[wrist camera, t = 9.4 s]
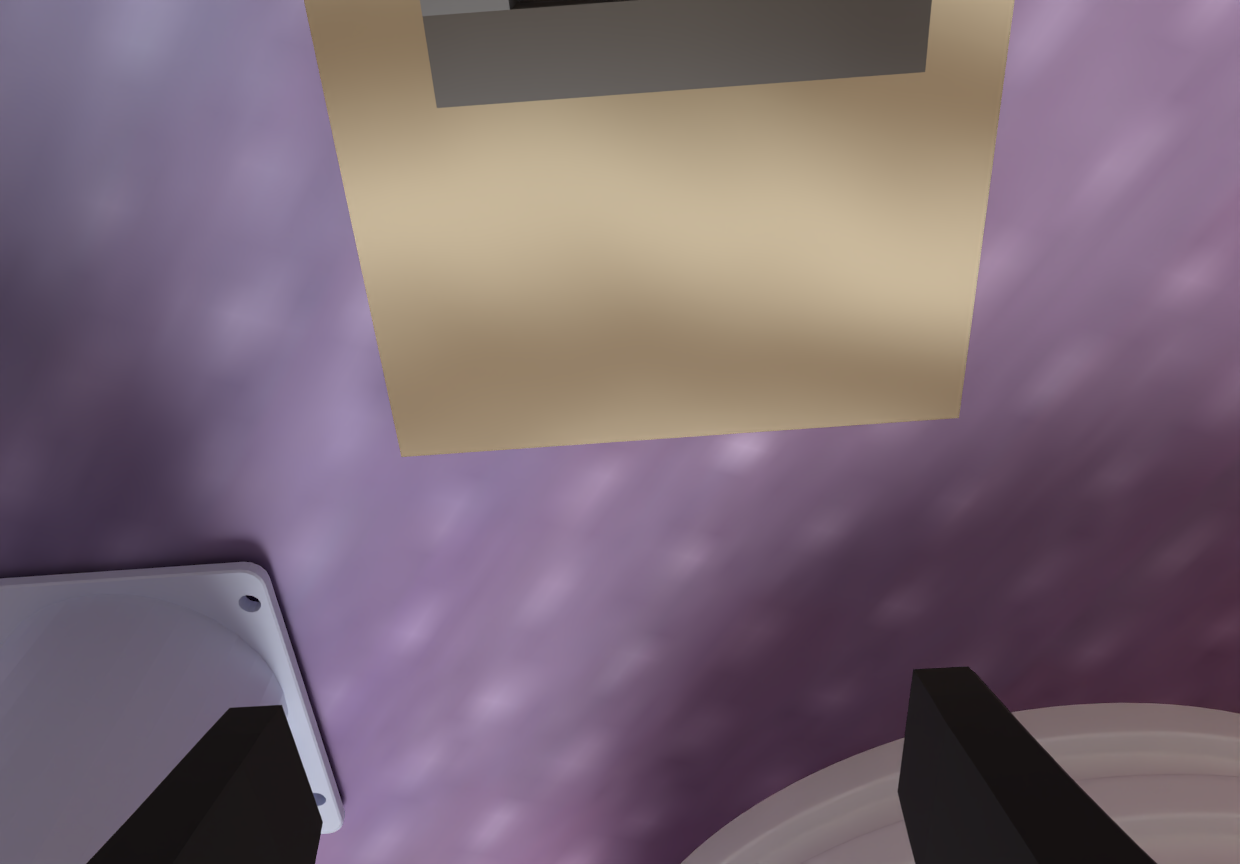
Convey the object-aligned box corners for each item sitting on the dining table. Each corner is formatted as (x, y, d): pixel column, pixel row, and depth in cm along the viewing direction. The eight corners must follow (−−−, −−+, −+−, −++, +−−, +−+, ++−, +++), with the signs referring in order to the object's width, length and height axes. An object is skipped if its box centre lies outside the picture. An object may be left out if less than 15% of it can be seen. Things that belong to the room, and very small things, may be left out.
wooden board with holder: (942, 396, 20) (1021, 499, 16) (410, 434, 20) (368, 544, 16) (1056, -539, 13) (1243, -731, 9) (223, -472, 13) (75, -637, 9)
